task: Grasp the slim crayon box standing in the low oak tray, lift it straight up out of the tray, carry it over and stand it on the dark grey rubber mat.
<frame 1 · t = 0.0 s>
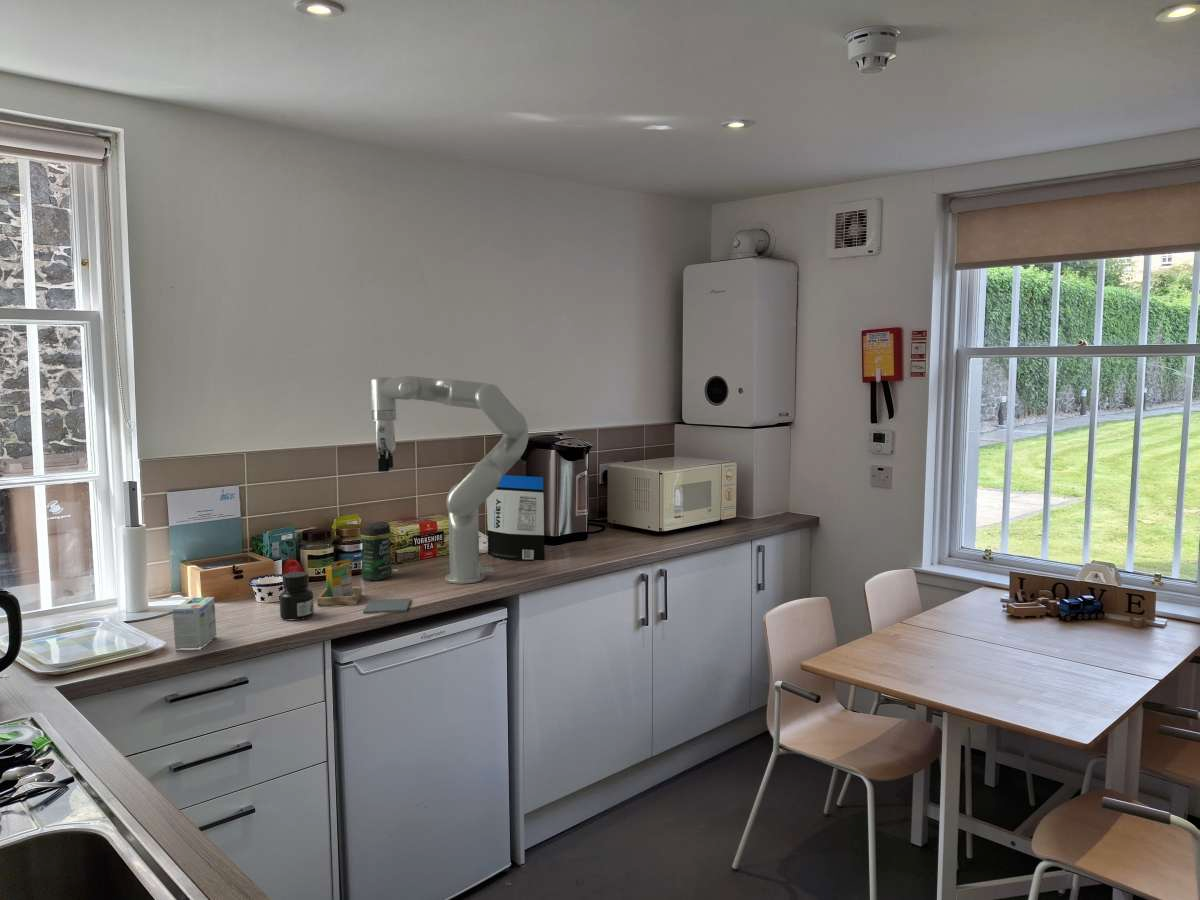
hand: (386, 469, 274), 37 cm above the countertop, tool pointing down, fingers open, 9 cm apart
mat: (387, 606, 250), on the countertop
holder: (340, 600, 257), on the countertop
coffee jar: (377, 578, 284), on the countertop
crayon box: (340, 599, 257), resting on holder
protein powder: (515, 558, 312), on the countertop
ink bottle: (297, 617, 241), on the countertop
light bulb box: (196, 644, 218), on the countertop
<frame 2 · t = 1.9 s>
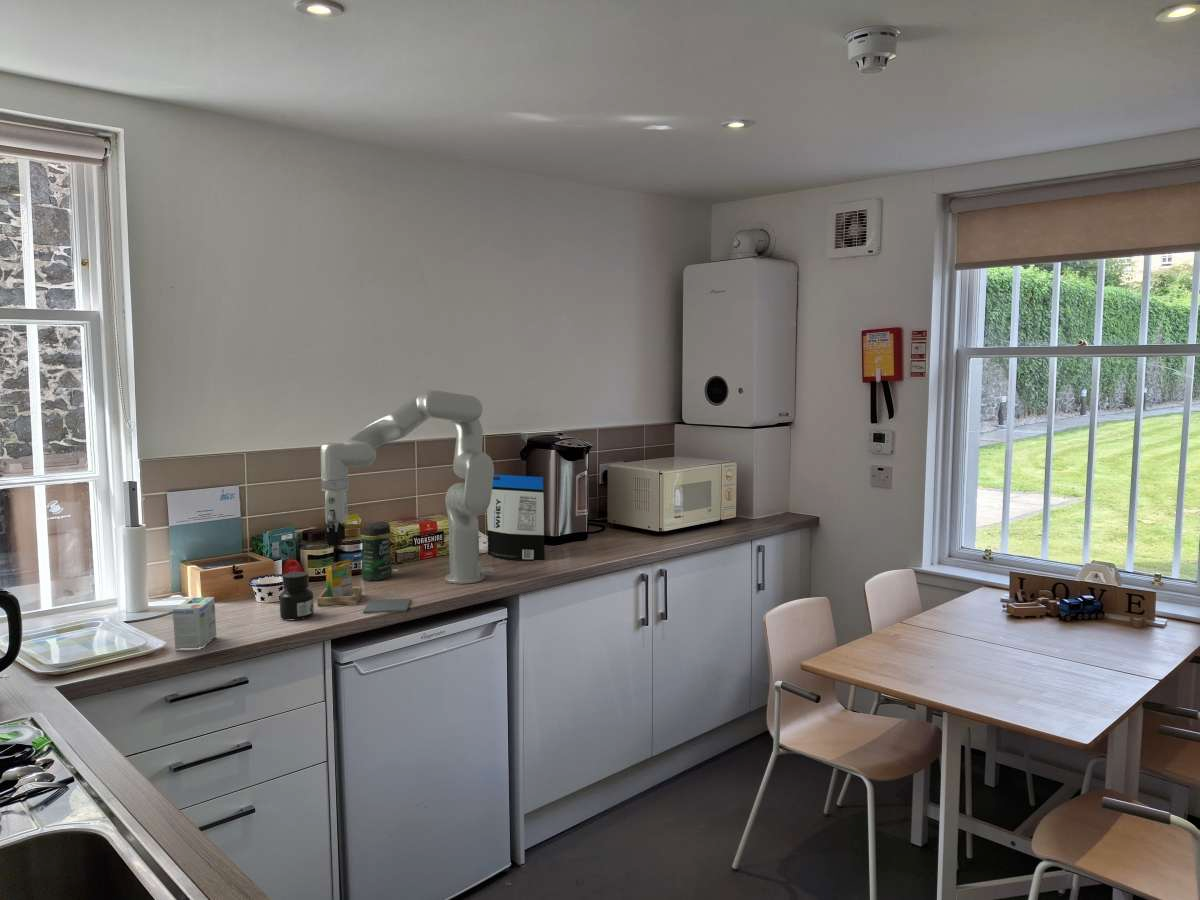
hand: (336, 542, 255), 18 cm above the countertop, tool pointing down, fingers open, 9 cm apart
nothing on the countertop moved.
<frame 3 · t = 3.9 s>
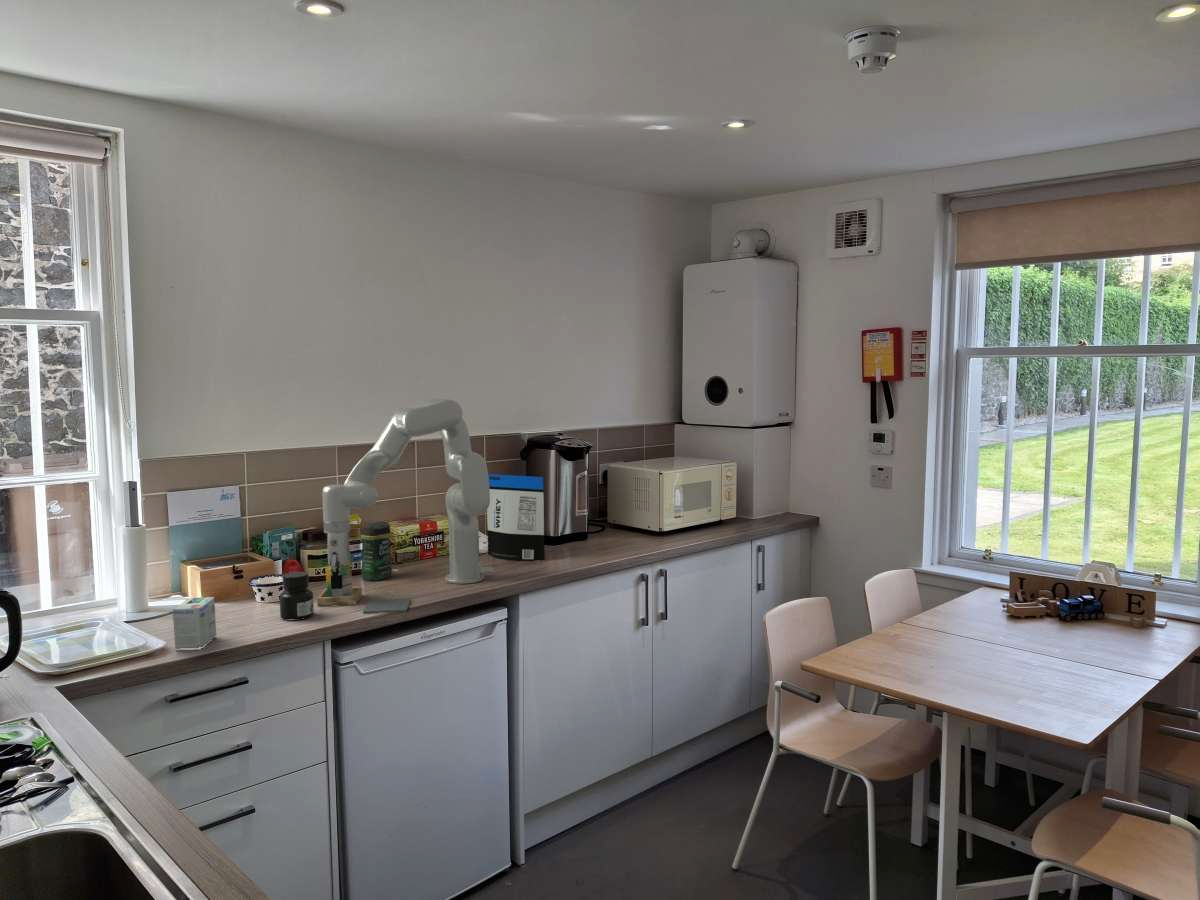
hand: (339, 584, 256), 5 cm above the countertop, tool pointing down, fingers closed on crayon box, 7 cm apart
crayon box: (340, 599, 257), resting on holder, touching gripper
everything else where it was.
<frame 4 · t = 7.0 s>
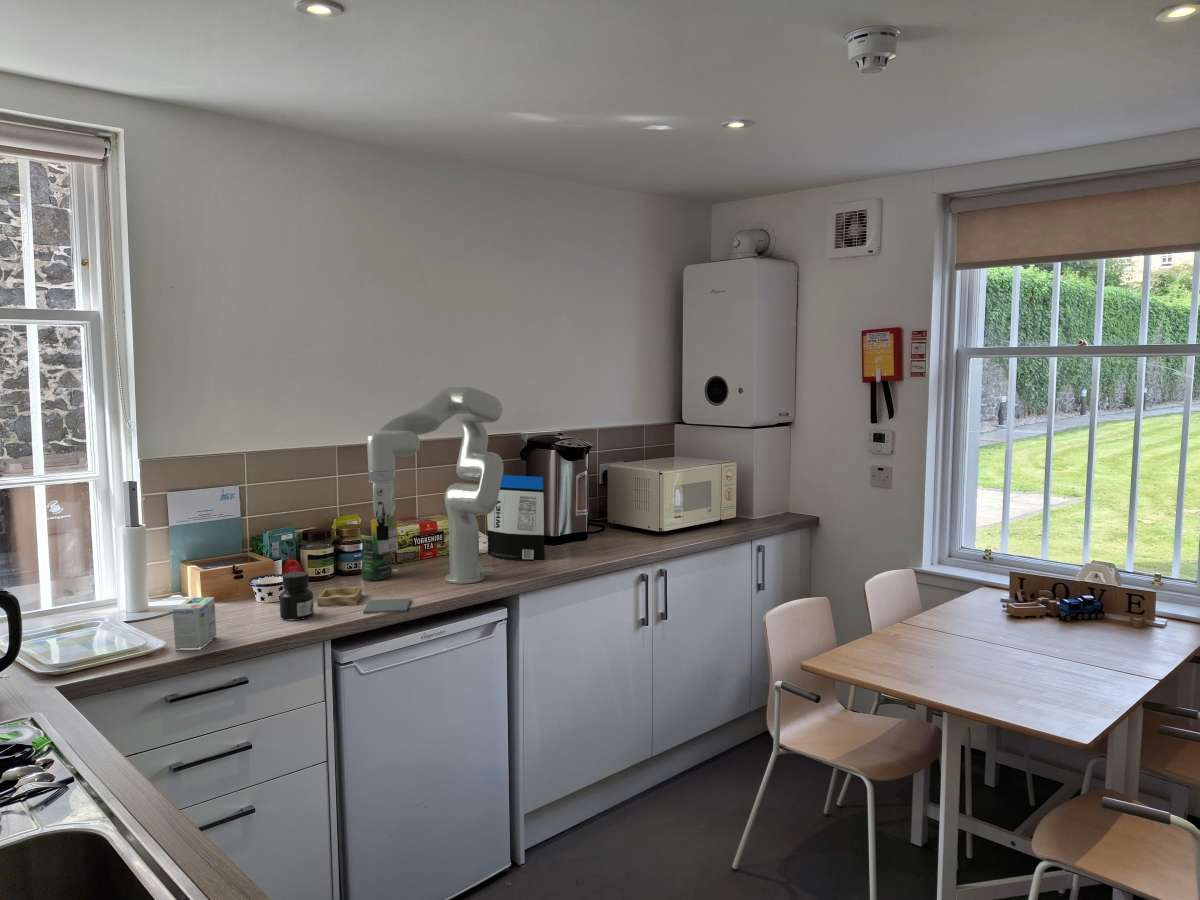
hand: (384, 536, 248), 21 cm above the countertop, tool pointing down, fingers closed on crayon box, 7 cm apart
crayon box: (385, 552, 248), point 16 cm above the countertop, touching gripper
everything else where it was.
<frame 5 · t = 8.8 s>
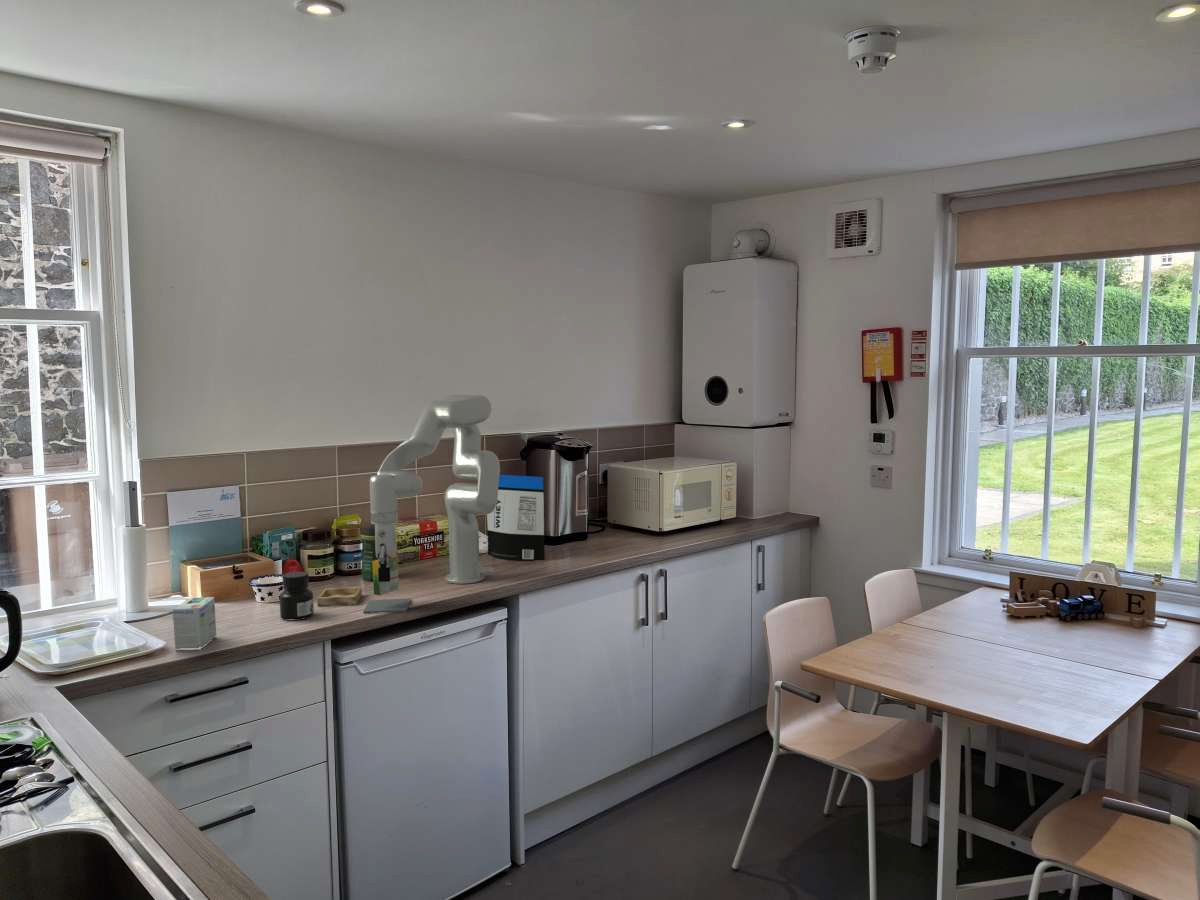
hand: (386, 577, 249), 9 cm above the countertop, tool pointing down, fingers closed on crayon box, 7 cm apart
crayon box: (386, 592, 249), point 4 cm above the countertop, touching gripper
everything else where it was.
when the fingers open (6 cm above the countertop, at t = 10.3 s): crayon box drops 1 cm, resting on mat.
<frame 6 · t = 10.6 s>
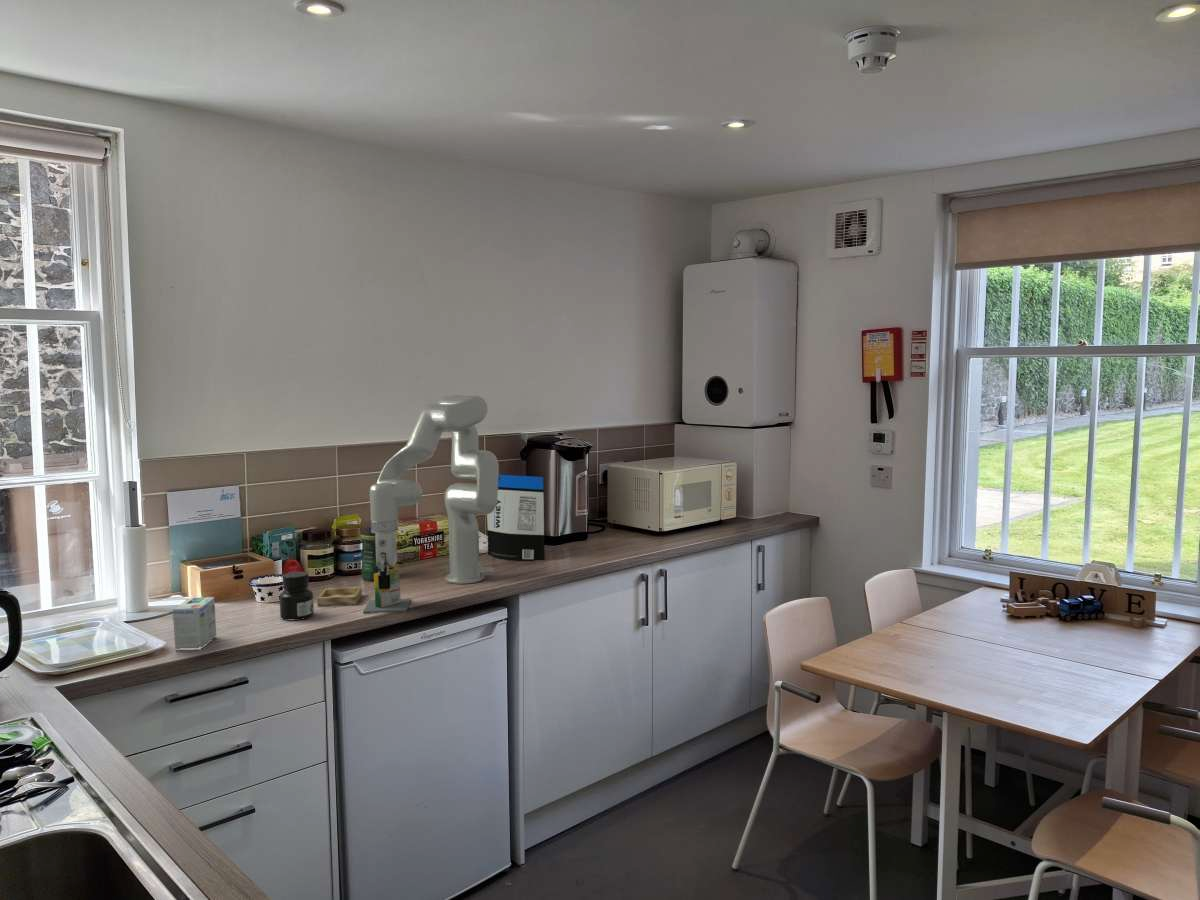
hand: (386, 584, 249), 7 cm above the countertop, tool pointing down, fingers open, 9 cm apart
crayon box: (388, 605, 250), resting on mat
everything else where it was.
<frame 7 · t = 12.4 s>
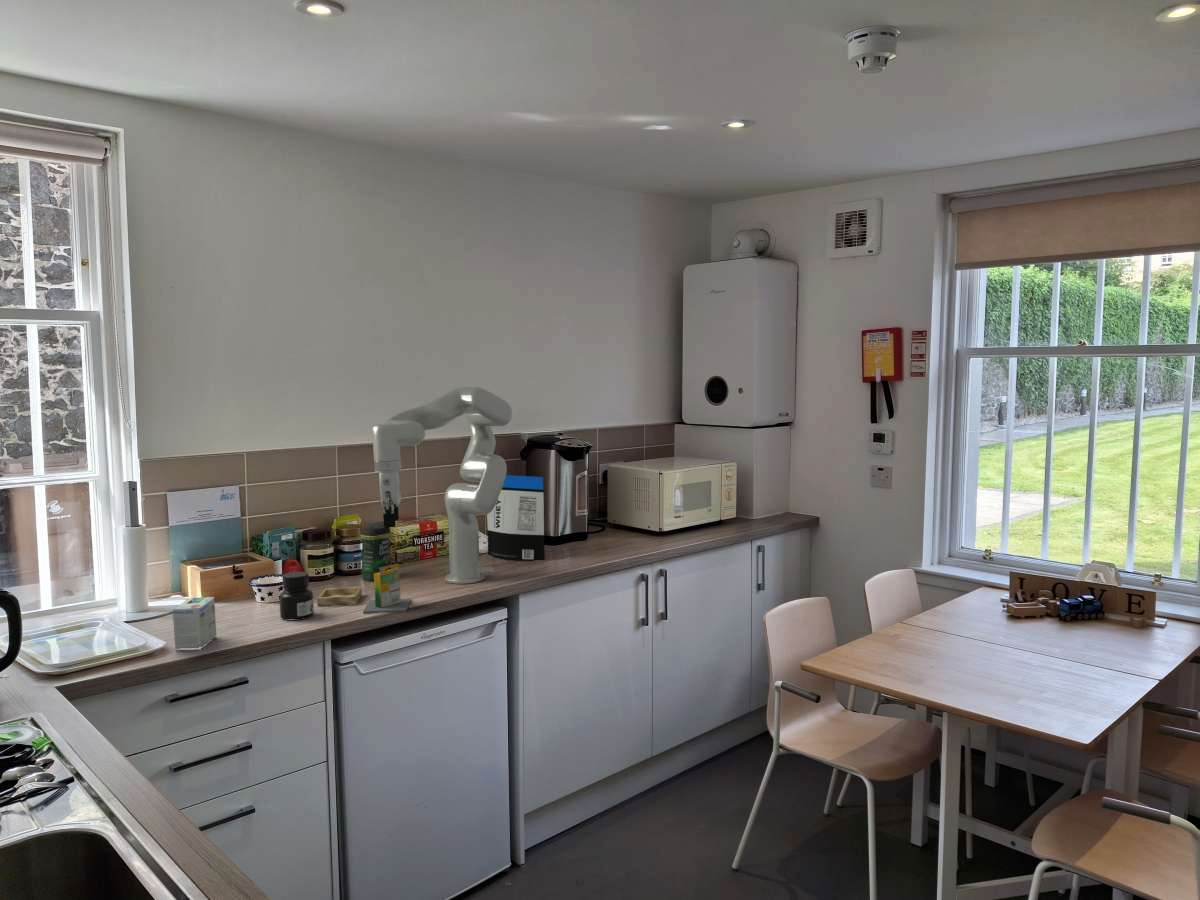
hand: (391, 523, 253), 23 cm above the countertop, tool pointing down, fingers open, 9 cm apart
nothing on the countertop moved.
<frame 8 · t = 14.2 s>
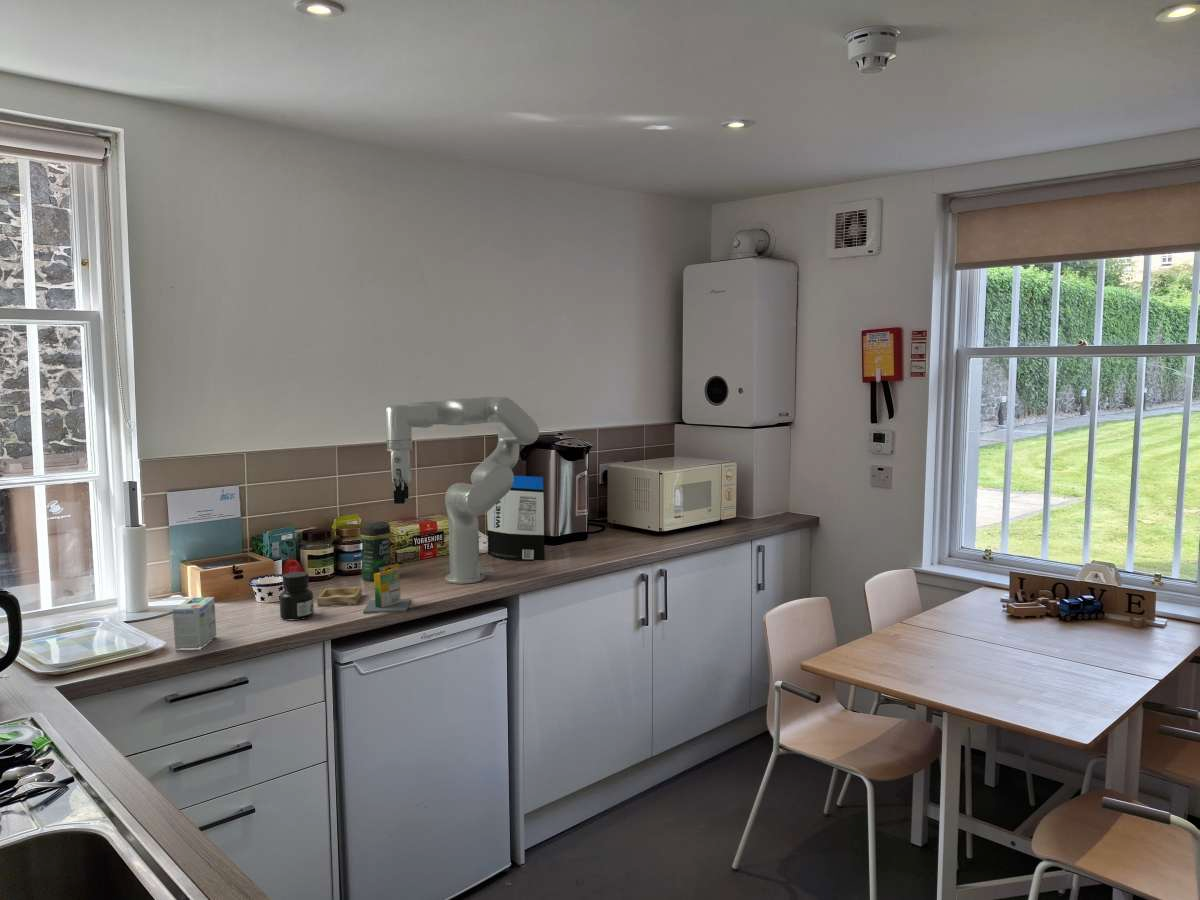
hand: (401, 501, 264), 28 cm above the countertop, tool pointing down, fingers open, 9 cm apart
nothing on the countertop moved.
at the end: crayon box inside the target area on the mat (0.2 cm from its centre), point 0.4 cm above the mat's base; crayon box tilted 0°; the gripper is holding nothing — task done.
